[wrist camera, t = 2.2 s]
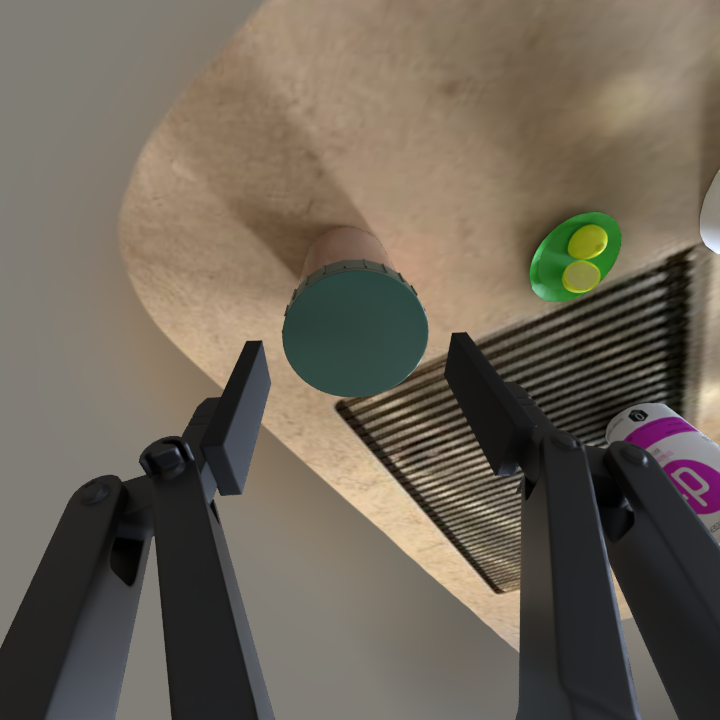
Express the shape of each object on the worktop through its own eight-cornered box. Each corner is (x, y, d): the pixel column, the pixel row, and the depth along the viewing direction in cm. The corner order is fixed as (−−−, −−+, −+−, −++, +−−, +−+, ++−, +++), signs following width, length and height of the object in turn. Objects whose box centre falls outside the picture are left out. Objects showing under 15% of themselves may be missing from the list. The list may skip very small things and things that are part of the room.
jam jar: (327, 207, 24) (326, 244, 14) (406, 254, 27) (448, 312, 17) (290, 288, 27) (268, 362, 18) (362, 323, 30) (377, 403, 20)
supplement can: (589, 434, 43) (693, 549, 30) (639, 392, 39) (783, 505, 26) (626, 446, 45) (737, 557, 33) (678, 408, 41) (826, 518, 29)
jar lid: (323, 228, 15) (322, 237, 14) (448, 300, 18) (459, 314, 17) (265, 351, 19) (259, 369, 18) (376, 395, 22) (379, 414, 20)
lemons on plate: (610, 282, 30) (633, 293, 27) (527, 310, 31) (543, 323, 28) (621, 195, 25) (651, 200, 23) (524, 231, 26) (543, 239, 24)
